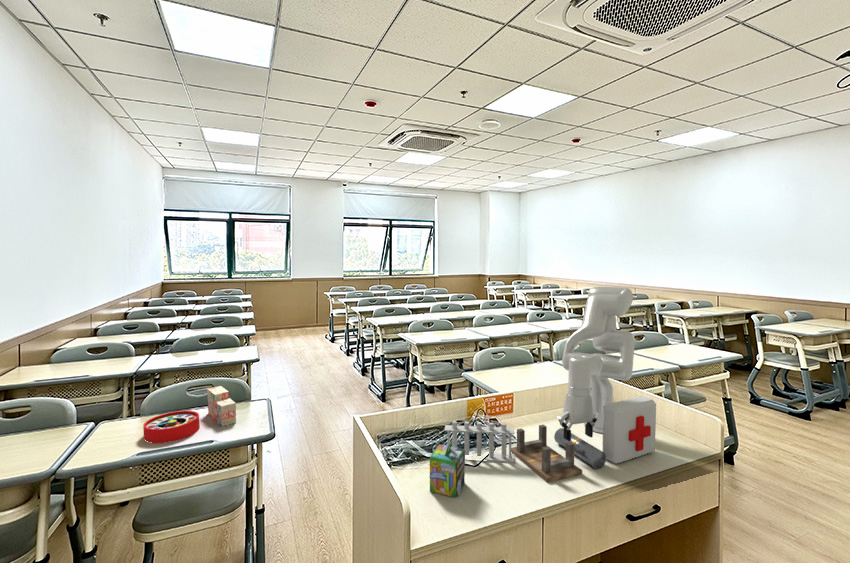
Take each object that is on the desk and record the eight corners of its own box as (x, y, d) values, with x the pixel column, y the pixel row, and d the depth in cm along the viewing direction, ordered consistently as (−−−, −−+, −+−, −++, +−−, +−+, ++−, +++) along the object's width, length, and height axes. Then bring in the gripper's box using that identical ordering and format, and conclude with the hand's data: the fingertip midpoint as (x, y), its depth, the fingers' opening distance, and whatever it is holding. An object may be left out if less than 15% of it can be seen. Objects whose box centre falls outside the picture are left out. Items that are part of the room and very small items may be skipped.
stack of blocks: (236, 423, 178) (235, 396, 177) (221, 427, 173) (220, 399, 173) (222, 410, 193) (221, 385, 193) (208, 413, 189) (206, 388, 188)
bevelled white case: (619, 468, 136) (620, 411, 135) (600, 457, 143) (601, 403, 142) (659, 454, 145) (661, 401, 143) (639, 445, 152) (640, 394, 151)
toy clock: (203, 420, 166) (144, 434, 154) (203, 434, 167) (145, 448, 154) (195, 407, 182) (141, 418, 169) (195, 419, 182) (142, 431, 170)
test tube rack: (444, 459, 143) (444, 424, 142) (445, 453, 147) (445, 419, 147) (514, 463, 140) (515, 426, 139) (513, 457, 144) (513, 421, 144)
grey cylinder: (566, 442, 155) (567, 427, 155) (605, 466, 137) (606, 449, 136) (554, 444, 153) (554, 429, 153) (591, 470, 135) (592, 452, 134)
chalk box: (439, 477, 131) (438, 433, 131) (465, 482, 128) (465, 438, 127) (428, 492, 123) (428, 446, 122) (456, 498, 119) (456, 451, 118)
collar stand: (541, 445, 153) (541, 421, 152) (582, 474, 132) (582, 446, 131) (510, 451, 148) (510, 427, 147) (547, 482, 127) (547, 454, 127)
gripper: (590, 386, 150) (589, 430, 150) (552, 390, 144) (551, 436, 145) (605, 392, 143) (604, 438, 143) (566, 396, 137) (565, 445, 138)
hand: (578, 437), depth 144 cm, fingers open, 9 cm apart
